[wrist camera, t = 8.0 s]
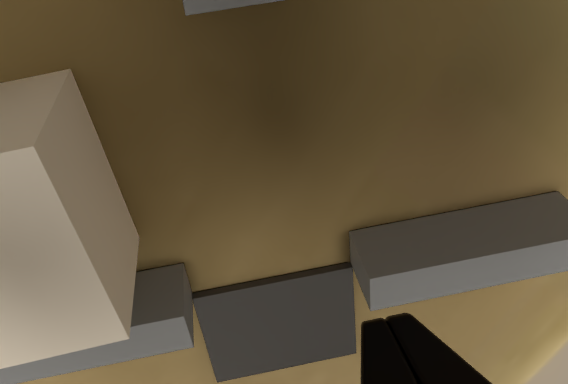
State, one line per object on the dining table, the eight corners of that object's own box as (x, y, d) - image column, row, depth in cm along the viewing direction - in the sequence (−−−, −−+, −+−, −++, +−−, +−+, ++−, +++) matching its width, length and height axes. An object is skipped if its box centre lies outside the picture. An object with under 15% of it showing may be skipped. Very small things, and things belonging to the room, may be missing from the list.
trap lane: (529, 310, 23) (587, 388, 20) (-26, 427, 21) (-64, 534, 18) (707, -436, 10) (947, -562, 7) (-615, -307, 9) (-1097, -398, 5)
